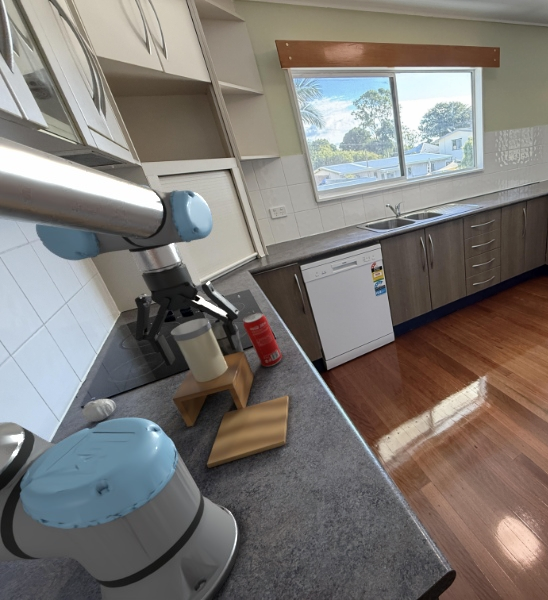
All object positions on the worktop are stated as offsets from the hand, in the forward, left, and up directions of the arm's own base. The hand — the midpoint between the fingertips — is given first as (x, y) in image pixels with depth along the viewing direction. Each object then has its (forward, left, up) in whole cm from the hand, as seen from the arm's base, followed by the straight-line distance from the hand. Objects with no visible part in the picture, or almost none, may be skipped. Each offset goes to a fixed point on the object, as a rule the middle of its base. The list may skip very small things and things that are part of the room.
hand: (204, 354), depth 72 cm
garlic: (+6, +29, -13) cm, 32 cm away
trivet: (-14, -9, -13) cm, 21 cm away
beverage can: (+12, -10, -13) cm, 20 cm away
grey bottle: (+13, -1, -13) cm, 18 cm away
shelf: (0, 0, -13) cm, 13 cm away
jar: (0, 0, -5) cm, 5 cm away
